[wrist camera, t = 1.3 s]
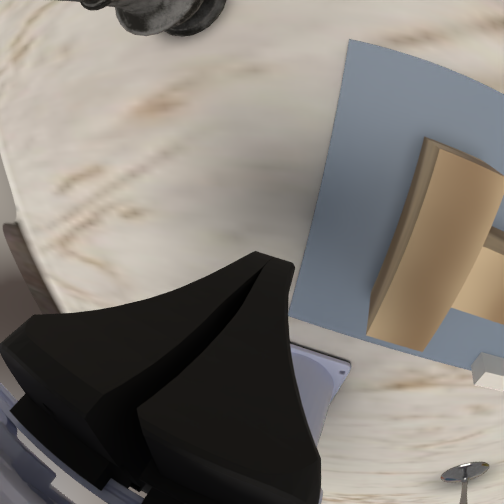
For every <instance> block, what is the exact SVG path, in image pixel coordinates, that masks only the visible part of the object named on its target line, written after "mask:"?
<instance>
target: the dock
mask: <svg viewBox="0 0 504 504" xmlns="http://www.w3.org/2000/svg"><path fill="white" fill-rule="evenodd" d="M471 369H472V375H473V381H474V385H476V386H480V387H485V388H489V389H494V390H499V391H504V358H501V357H497V356H494V355H490V354H487V353H483V352H481V353H480V355H479V356H478V357H477V358H476V360H475V361H474V362H473V363H472V365H471Z"/></svg>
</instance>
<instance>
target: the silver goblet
mask: <svg viewBox="0 0 504 504" xmlns="http://www.w3.org/2000/svg"><path fill="white" fill-rule="evenodd" d="M488 469H489V464H487V463H485V462H473V463H467V464H463V465H460V466H457V467H454V468H452V469H449V470H447V471H446V472H444V473H443V474H442V475H441V480H442V481H444V482H448V483H457V482H462V492H461V499H460V503H459V504H467V484H468V480H471V479H474V478H476V477H479V476H481V475H482V474H484V473H485V472H486V471H487V470H488Z"/></svg>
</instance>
